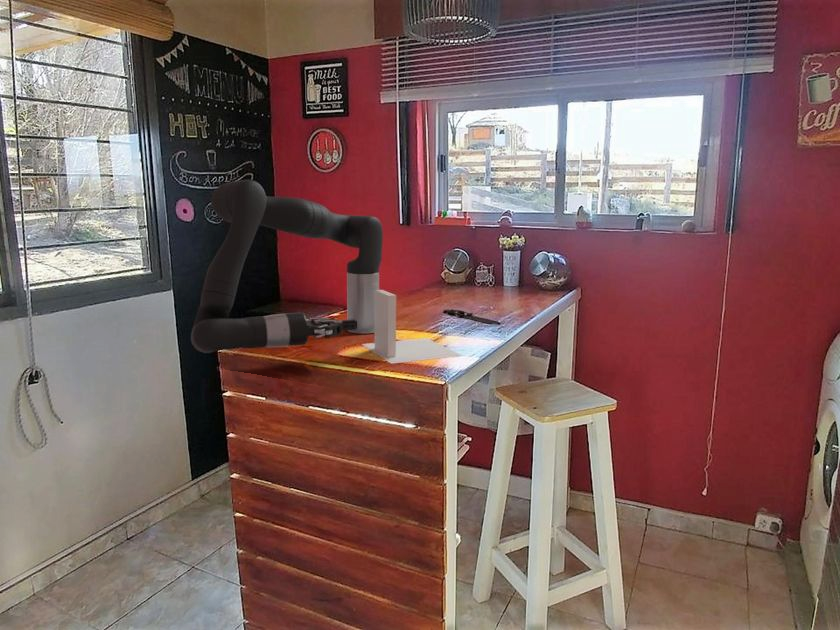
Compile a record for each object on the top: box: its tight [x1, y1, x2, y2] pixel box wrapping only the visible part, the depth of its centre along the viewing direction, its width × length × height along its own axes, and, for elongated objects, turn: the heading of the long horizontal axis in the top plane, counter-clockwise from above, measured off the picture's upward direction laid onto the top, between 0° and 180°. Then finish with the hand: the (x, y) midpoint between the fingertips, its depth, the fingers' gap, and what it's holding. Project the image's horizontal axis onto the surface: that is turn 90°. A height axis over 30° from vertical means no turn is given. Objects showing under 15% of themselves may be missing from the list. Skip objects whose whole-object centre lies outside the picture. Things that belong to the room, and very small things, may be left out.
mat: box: [361, 337, 463, 365], centre depth 153 cm, size 20×19×1 cm
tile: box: [374, 289, 397, 357], centre depth 148 cm, size 9×2×15 cm, turn 25°
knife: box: [442, 308, 501, 325], centre depth 198 cm, size 25×6×1 cm, turn 34°
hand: (356, 324), depth 145 cm, fingers closed
